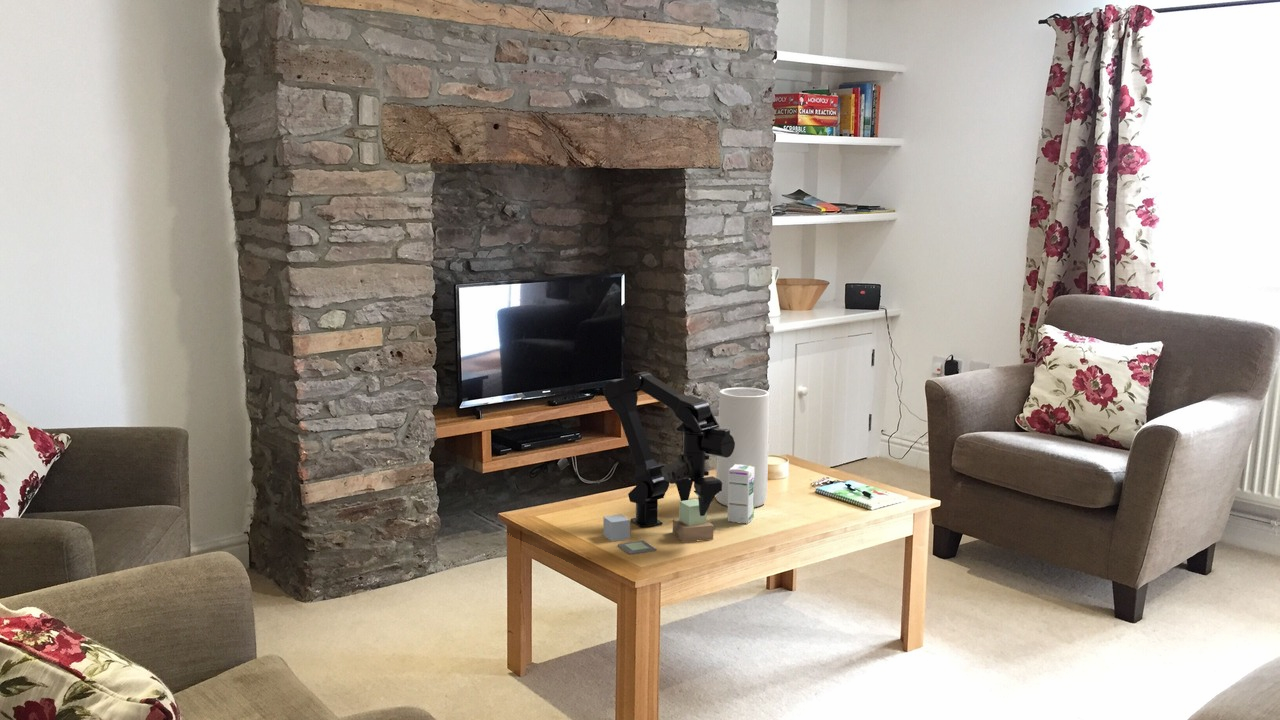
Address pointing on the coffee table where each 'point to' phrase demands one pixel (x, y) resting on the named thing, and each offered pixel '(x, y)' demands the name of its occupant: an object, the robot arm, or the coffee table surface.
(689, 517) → the green cube
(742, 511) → the syrup box
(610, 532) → the slate cube
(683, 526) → the walnut block
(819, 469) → the coffee table surface
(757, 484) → the vase
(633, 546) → the card
